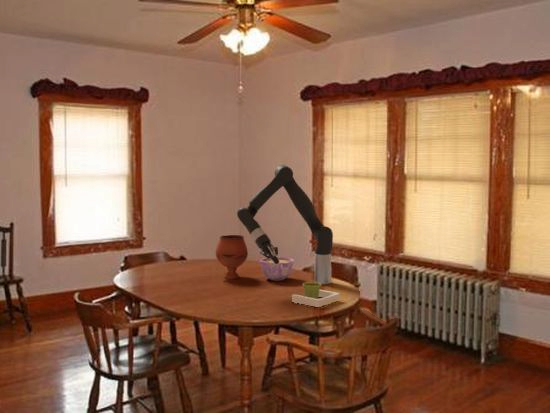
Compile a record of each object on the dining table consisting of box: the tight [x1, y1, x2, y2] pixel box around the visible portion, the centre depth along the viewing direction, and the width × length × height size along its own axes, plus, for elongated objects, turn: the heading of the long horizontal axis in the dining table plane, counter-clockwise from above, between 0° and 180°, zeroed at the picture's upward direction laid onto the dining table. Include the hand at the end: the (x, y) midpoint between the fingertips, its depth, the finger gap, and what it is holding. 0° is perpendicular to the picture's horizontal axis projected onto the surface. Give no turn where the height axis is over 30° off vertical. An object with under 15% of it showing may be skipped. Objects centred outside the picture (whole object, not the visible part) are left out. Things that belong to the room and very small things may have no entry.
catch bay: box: [291, 288, 340, 308], centre depth 285 cm, size 18×16×4 cm
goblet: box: [215, 234, 249, 280], centre depth 339 cm, size 19×19×25 cm
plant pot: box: [302, 281, 322, 299], centre depth 286 cm, size 9×9×9 cm
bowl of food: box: [259, 256, 295, 282], centre depth 335 cm, size 20×20×12 cm
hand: (277, 263), depth 299 cm, fingers closed
